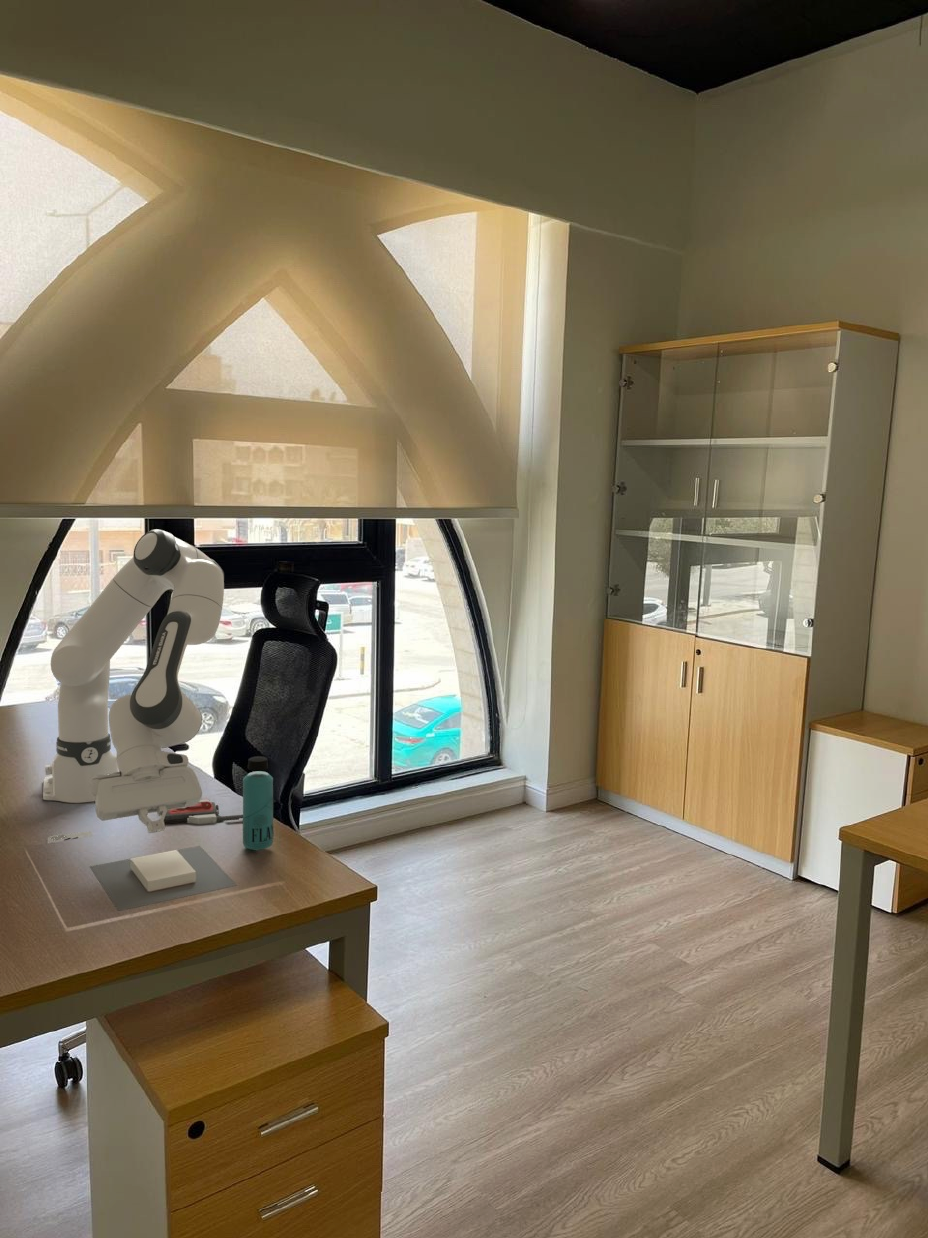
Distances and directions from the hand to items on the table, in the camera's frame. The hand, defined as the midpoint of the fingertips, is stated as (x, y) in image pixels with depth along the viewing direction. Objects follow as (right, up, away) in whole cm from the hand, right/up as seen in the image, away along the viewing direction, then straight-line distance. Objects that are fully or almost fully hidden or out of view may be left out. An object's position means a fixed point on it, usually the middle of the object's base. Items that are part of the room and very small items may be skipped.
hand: (157, 831), depth 189 cm
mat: (+1, -9, -1) cm, 9 cm away
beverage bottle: (+17, -7, +13) cm, 23 cm away
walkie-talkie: (+1, -4, +30) cm, 30 cm away
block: (-2, -6, +3) cm, 7 cm away
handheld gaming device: (-22, -6, +12) cm, 26 cm away
